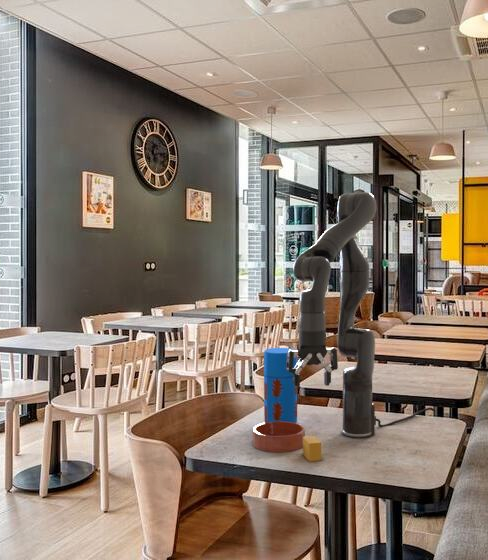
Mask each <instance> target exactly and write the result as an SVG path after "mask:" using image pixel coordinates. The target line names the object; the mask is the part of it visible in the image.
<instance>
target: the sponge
mask: <svg viewBox="0 0 488 560" xmlns="http://www.w3.org/2000/svg"><path fill="white" fill-rule="evenodd" d="M302 455H303V457H305V459H306V460H307V461H308V462H317V461H322V441H321V440H320V439H318V438H317V437H316V436H315V435H310V436H305V437H303V447H302Z"/></svg>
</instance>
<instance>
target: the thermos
mask: <svg viewBox="0 0 488 560" xmlns="http://www.w3.org/2000/svg"><path fill="white" fill-rule="evenodd" d="M288 350H292V351H297V349H295V348H290V347H273V348H271V347H270V348H266V349H264V352H263V411H264V412H263V415H264V417H263V418H264V423H266V422H274V421H286V422H294V423H298V388H297V387H296V386H295V385H294V384H293V373H290V372H289V371H287V370H286V366H287V351H288ZM297 362H298V354H297V355H296V357H295V358H294V360H293V368H294V367H295V366H296V364H297Z"/></svg>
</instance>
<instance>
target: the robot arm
mask: <svg viewBox="0 0 488 560" xmlns="http://www.w3.org/2000/svg"><path fill="white" fill-rule="evenodd" d="M377 209H378V208H377V200H376V197H375V196H374V195H373V194H372V193H371V192H361V191H360V192H348V193H343V194H341V195H340V196H339V198H338V201H337V223H336V224H334V225H332V226H331V227H329V228H328V229H326V230H325V231H324V233H322V235H321V236H320V237H319V238H318V240H317V241H316V242H315V244H314V245H312V246H309V248H307V249H306V250H304V251H303V252H302V253H300V254H299V255H298V256H297V257H296V258H295V260H294V263H293V265H292V273H293V276H294V278H295V279H296V280H298V281H300V282H309V283H310V282H311V283H312V284H311V288H310V289H305V290H302V291H301V292H300V293H299V296H298V299H299V300H298V304H299V305H298V306H299V307H298V308H299V309H298V310H299V312H298V313H299V314H298V324H297V328H298V348H297V349H296V351H292V350H288V351H287V366H286V370H287V371H289V372H290V373H293V384H294V385H295V386H296V387H297V389H299V388H300V387H301V374H300V373H301V371H302V370H303V369H304V368H305V367H306V366H312V365H315V366H318V365H321V366H322V367H323V369H324V371H323V376H324V377H323V383H324V386H326V387H328V386H330V384H332V372H333V371H337V370H338V369H339V364H338V363H339V362H338V353H339V354H340V355H341V356H342V357H347V358H354V359H357V360H356V364H355V366H351V367H348V368H345V369H343V371H342V435H344V436H346V437H349V438H359V439H360V438H368V437H371V436H375V435H376V434H375V433H376V432H375V431H376V426H378V427H379V428H382V427H387V426H392V425H394V424H396V423H397V424H398V423H401V422H404V421H407V420H410V419H412V418H414V417H416V416H417V415H419V414H421V413H424V412H427V411H432V412H436V410H435V408H433V407H426V408H424V409H422V410H419V411H416V412H414V413H413V414H411V415H409V416H406V417H403V418H400V419H396V420H393V421H391V422H388V423H386V424H381V423H382V422H381V419H379V418H377V416H376V405H375V404H374V403H373V374H374V370H375V353H376V338H375V334H374V332H373V331H372V330H371V329H367V328H358V327H355V317H356V314H357V313H356V312H357V310H358V308H359V306H360V304H361V303H362V302H363V299H364V298H365V296H366V294H367V292H368V290H369V288H370V263H369V261H368V258H367V257H366V255H365V253H364V252H363V250H362V247H360V245H359V243H358V240H357V238H356V237H357V236H356V235H357V234H358V233H359V232H360V231H362V229H364V228H365V227H366V226H367V225H368V224H369V223H370V222H372V220H373V219H374V218H375V216H376V213H377ZM338 256H339V315H338V325H337V326H338V327H337V337H336V338H337V345H336V346H337V348H335V347H333V346H331V347H330V348H327V346H326V345H327V343H326V342H327V339H326V338H327V336H326V335H327V333H326V331H327V330H326V329H327V322H326V312H325V311H326V310H325V309H326V308H325V307H326V305H325V303H326V300H325V299H326V293H327V290H328V285H329V282H330V278H331V274H332V266H331V263H333V261H334V260H336V258H337V257H338ZM296 355H297V357H299V359H298V360H297V364H296V366H295V367H294V368H293V360H294V358H295V357H296ZM327 355H328V356H329V357H330V358H329V359H330V365H329V363H328V362H327V360H326V359H325V358H326V356H327ZM435 512H436V513H438V512H439V502H436V503H435Z"/></svg>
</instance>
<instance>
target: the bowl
mask: <svg viewBox="0 0 488 560" xmlns="http://www.w3.org/2000/svg"><path fill="white" fill-rule="evenodd" d="M303 437H306V428H305V426H304V425H303V424H300V423H298V422H297V423H294V422H286V421H274V422H266V423H265V422H262V423H259V424H257V425H255V426H254V427H253V429H252V444H253V446H254V448H256V449H258V450H261V451H263V452H270V453H286V452H293V451H297V450H300V449H301V448H303Z"/></svg>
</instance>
